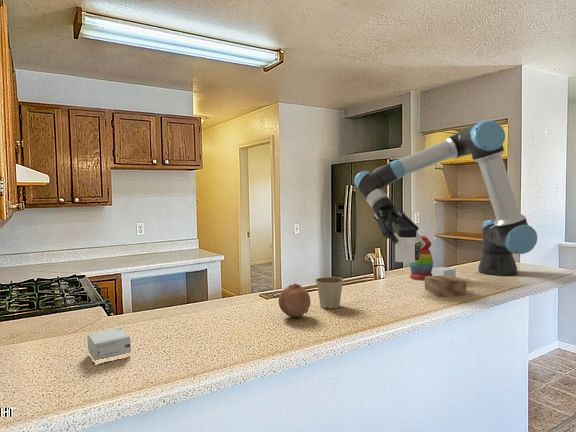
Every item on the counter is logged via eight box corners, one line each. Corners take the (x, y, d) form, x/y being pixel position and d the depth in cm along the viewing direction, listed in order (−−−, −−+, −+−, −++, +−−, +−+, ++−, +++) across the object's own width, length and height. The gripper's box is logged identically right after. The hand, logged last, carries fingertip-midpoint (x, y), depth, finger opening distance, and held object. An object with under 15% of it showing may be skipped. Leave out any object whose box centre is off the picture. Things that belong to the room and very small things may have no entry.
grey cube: (444, 281, 163) (443, 266, 162) (455, 284, 157) (455, 269, 157) (432, 283, 160) (432, 268, 160) (443, 286, 155) (443, 270, 154)
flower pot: (350, 305, 131) (350, 279, 130) (333, 312, 124) (332, 284, 123) (327, 301, 137) (327, 275, 137) (309, 307, 130) (308, 280, 130)
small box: (94, 366, 88) (93, 343, 88) (87, 355, 95) (86, 334, 94) (131, 357, 93) (130, 335, 93) (122, 347, 99) (121, 327, 99)
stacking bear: (438, 280, 165) (438, 236, 164) (413, 280, 165) (413, 237, 164) (430, 275, 175) (429, 234, 174) (406, 275, 176) (406, 234, 175)
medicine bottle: (415, 262, 142) (415, 228, 141) (395, 261, 146) (394, 228, 145) (420, 260, 148) (419, 227, 148) (400, 259, 152) (400, 227, 151)
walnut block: (450, 288, 150) (450, 275, 150) (465, 294, 141) (465, 280, 140) (424, 290, 149) (424, 276, 149) (438, 296, 139) (438, 282, 139)
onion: (294, 311, 126) (294, 279, 126) (317, 317, 120) (316, 283, 119) (272, 318, 120) (271, 284, 119) (295, 324, 113) (294, 289, 112)
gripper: (395, 208, 165) (428, 251, 153) (354, 211, 154) (385, 257, 141) (405, 195, 160) (439, 238, 148) (363, 197, 149) (396, 243, 136)
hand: (413, 247), depth 144 cm, fingers closed on medicine bottle, 9 cm apart
